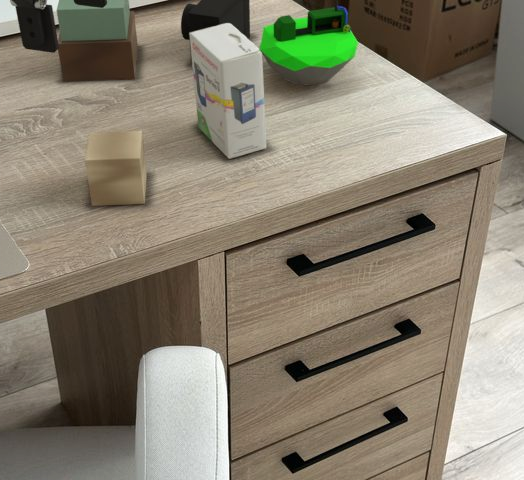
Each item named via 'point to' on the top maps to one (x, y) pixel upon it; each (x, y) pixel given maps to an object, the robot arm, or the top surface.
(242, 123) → the ink box
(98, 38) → the top block
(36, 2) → the robot arm
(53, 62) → the top surface
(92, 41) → the bottom block
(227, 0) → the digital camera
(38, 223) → the top surface
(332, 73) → the toy floating island
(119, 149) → the toy block
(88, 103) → the top surface
